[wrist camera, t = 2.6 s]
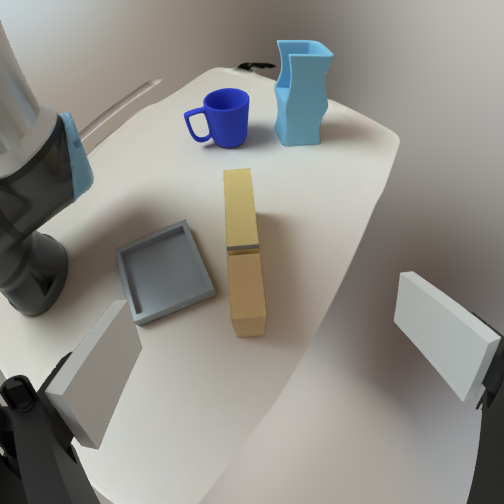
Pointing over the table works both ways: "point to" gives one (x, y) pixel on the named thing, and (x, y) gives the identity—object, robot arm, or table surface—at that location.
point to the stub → (246, 295)
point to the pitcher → (301, 91)
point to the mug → (223, 117)
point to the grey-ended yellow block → (240, 213)
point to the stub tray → (163, 273)
